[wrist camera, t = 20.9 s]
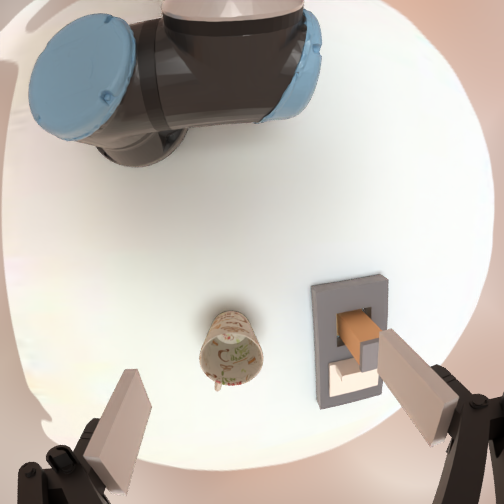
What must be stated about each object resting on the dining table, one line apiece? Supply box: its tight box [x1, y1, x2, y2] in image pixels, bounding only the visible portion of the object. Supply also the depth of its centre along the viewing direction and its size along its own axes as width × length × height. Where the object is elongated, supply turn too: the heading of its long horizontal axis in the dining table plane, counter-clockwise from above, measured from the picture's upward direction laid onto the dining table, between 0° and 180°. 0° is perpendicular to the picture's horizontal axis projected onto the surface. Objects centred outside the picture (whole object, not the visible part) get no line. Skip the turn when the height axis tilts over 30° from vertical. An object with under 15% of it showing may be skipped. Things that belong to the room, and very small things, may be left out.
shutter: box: [329, 358, 379, 397], centre depth 46 cm, size 7×9×4 cm
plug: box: [337, 309, 382, 373], centre depth 44 cm, size 4×4×12 cm
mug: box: [199, 311, 263, 391], centre depth 44 cm, size 8×13×10 cm, turn 165°
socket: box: [311, 274, 388, 410], centre depth 49 cm, size 23×12×3 cm, turn 7°
